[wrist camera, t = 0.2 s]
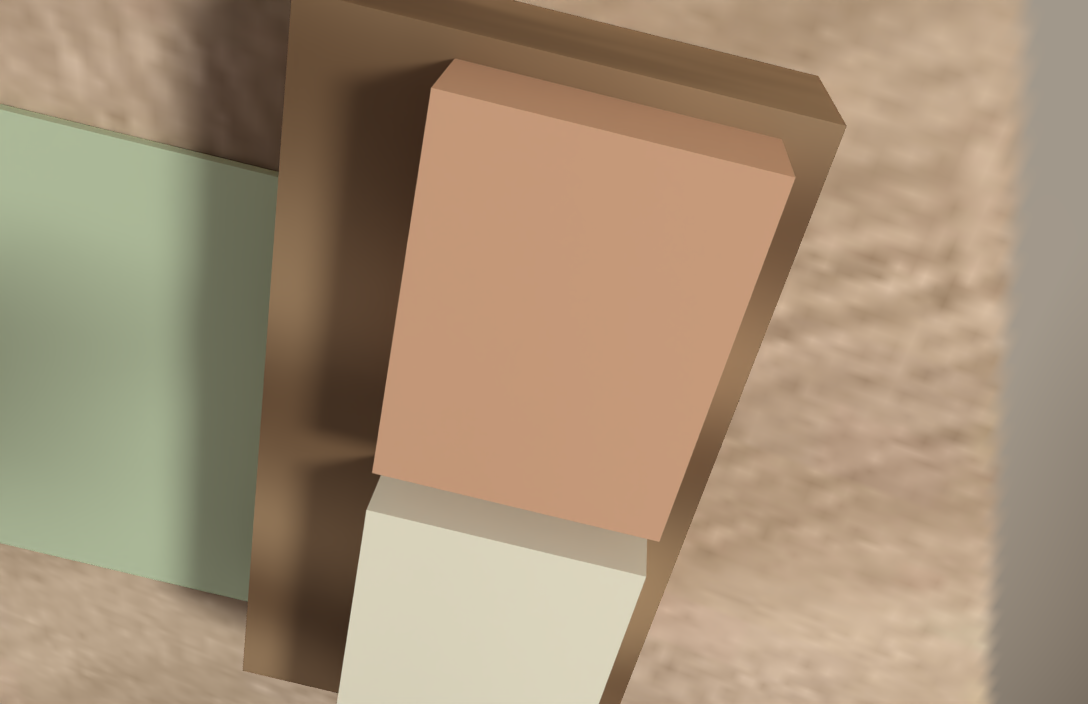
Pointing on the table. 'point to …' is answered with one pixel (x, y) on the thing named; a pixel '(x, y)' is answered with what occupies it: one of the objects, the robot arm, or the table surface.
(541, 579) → the ivory block
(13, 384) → the mat
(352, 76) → the deck
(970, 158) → the table surface
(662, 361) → the salmon pink brick
